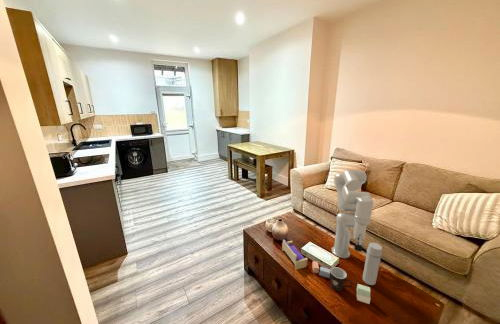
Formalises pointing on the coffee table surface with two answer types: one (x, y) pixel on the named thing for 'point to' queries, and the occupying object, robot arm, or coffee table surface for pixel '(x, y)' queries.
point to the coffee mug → (338, 279)
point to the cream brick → (363, 299)
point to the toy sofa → (294, 254)
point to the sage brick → (363, 290)
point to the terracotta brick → (315, 267)
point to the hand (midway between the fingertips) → (357, 244)
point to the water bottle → (372, 263)
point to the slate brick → (324, 272)
